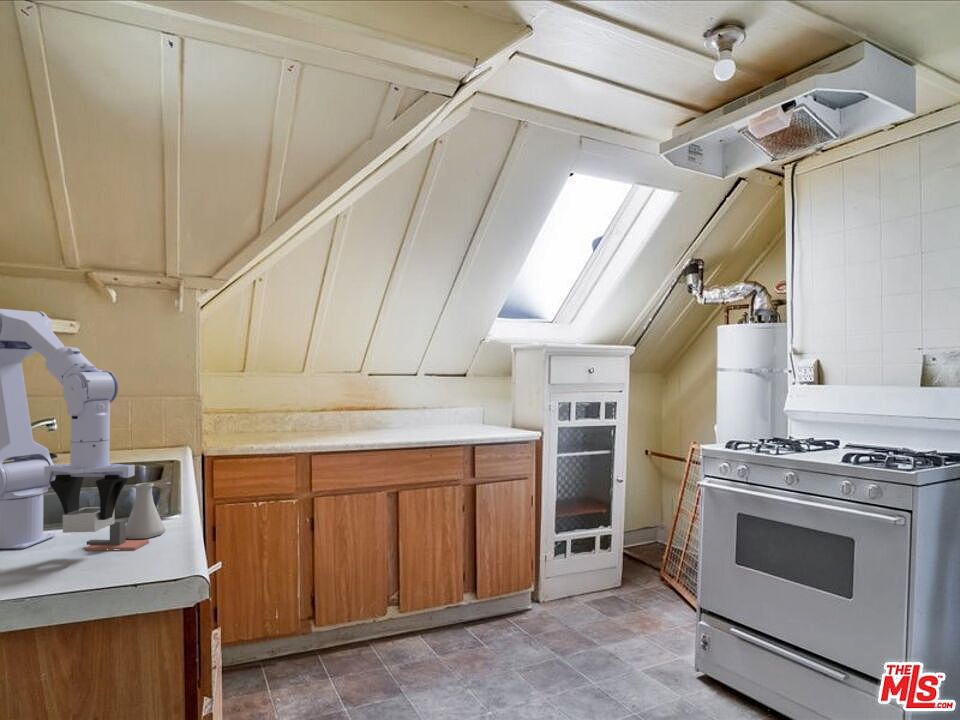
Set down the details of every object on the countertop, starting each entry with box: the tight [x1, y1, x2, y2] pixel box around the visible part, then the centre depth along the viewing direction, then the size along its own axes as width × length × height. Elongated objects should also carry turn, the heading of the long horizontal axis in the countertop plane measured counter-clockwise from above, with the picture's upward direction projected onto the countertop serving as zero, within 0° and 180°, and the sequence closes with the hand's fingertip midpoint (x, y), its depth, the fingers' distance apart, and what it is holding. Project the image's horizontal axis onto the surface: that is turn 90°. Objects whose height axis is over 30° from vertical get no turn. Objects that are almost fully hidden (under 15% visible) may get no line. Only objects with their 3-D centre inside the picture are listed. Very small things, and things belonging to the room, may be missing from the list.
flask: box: [126, 482, 166, 540], centre depth 114 cm, size 7×7×10 cm
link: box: [62, 506, 116, 534], centre depth 101 cm, size 5×5×3 cm
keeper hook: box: [84, 519, 150, 551], centre depth 107 cm, size 10×4×5 cm, turn 90°
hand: (89, 518), depth 101 cm, fingers closed on link, 5 cm apart
